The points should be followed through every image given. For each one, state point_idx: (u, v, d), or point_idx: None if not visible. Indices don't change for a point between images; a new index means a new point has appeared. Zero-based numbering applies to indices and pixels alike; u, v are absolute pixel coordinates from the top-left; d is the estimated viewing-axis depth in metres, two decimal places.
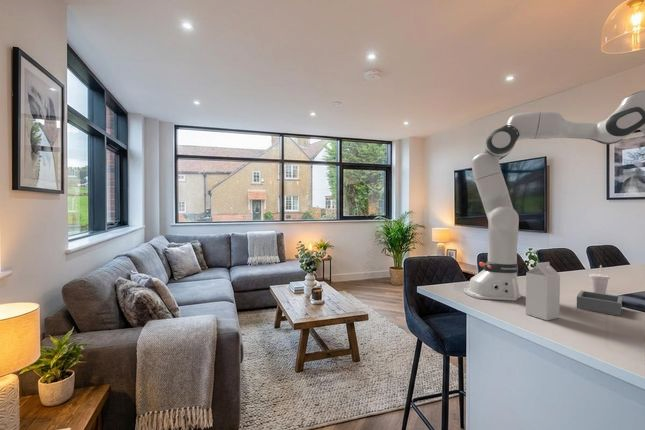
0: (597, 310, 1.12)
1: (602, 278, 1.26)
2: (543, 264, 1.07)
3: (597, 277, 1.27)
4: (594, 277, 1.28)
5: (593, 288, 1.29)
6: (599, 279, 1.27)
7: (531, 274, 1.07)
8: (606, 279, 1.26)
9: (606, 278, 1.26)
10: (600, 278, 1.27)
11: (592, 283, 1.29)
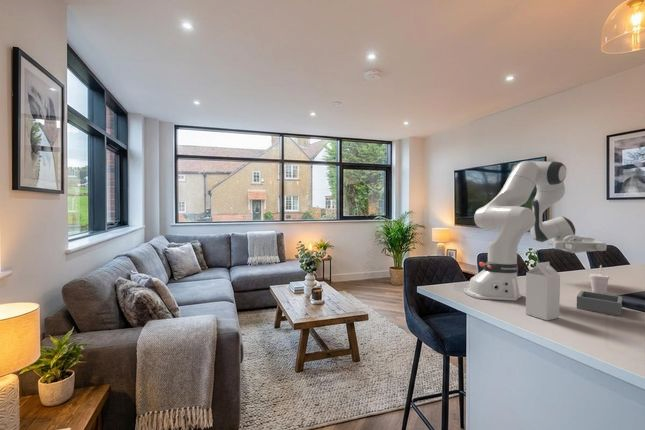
0: (597, 310, 1.12)
1: (602, 278, 1.26)
2: (543, 264, 1.07)
3: (597, 277, 1.27)
4: (594, 277, 1.28)
5: (593, 288, 1.29)
6: (599, 279, 1.27)
7: (531, 274, 1.07)
8: (606, 279, 1.26)
9: (606, 278, 1.26)
10: (600, 278, 1.27)
11: (592, 283, 1.29)
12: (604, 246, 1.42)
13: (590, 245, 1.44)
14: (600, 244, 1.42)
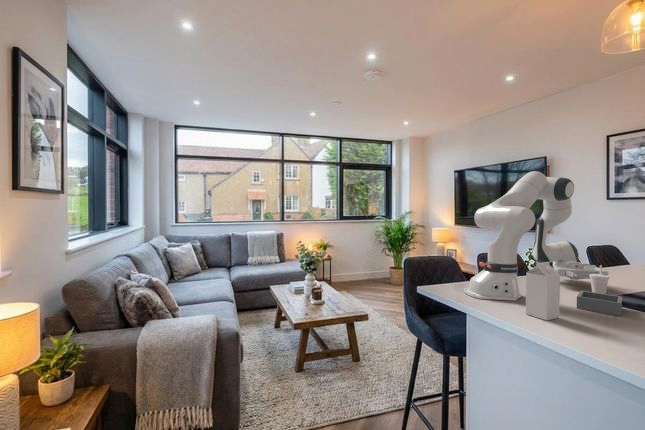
0: (597, 310, 1.12)
1: (602, 278, 1.26)
2: (543, 264, 1.07)
3: (597, 277, 1.27)
4: (594, 277, 1.28)
5: (593, 288, 1.29)
6: (599, 279, 1.27)
7: (531, 274, 1.07)
8: (606, 279, 1.26)
9: (606, 278, 1.26)
10: (600, 278, 1.27)
11: (592, 283, 1.29)
12: None
13: (592, 273, 1.42)
14: (602, 272, 1.40)
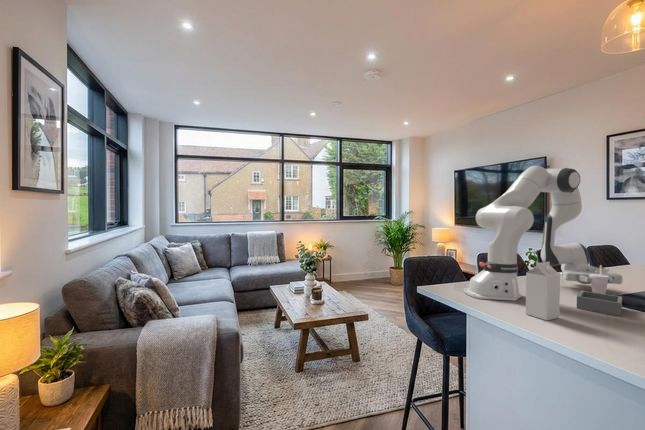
0: (597, 310, 1.12)
1: (602, 278, 1.26)
2: (543, 264, 1.07)
3: (597, 277, 1.27)
4: (594, 277, 1.28)
5: (593, 288, 1.29)
6: (599, 279, 1.27)
7: (531, 274, 1.07)
8: (606, 279, 1.26)
9: (606, 278, 1.26)
10: (600, 278, 1.27)
11: (592, 283, 1.29)
12: (620, 279, 1.30)
13: None
14: (616, 277, 1.30)
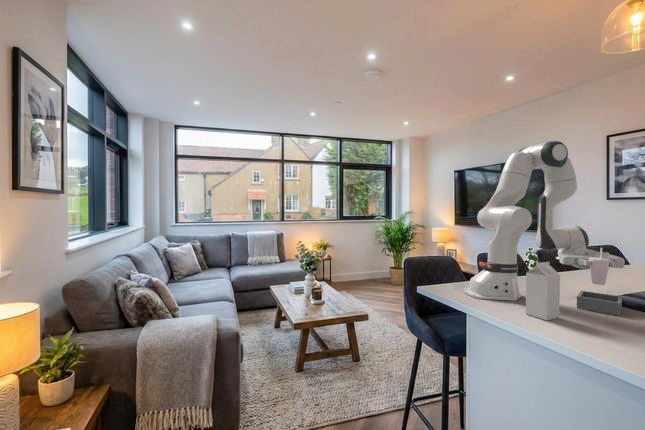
0: (597, 310, 1.12)
1: (603, 261, 1.15)
2: (543, 264, 1.07)
3: (597, 260, 1.16)
4: (594, 261, 1.17)
5: (593, 273, 1.18)
6: (599, 263, 1.16)
7: (531, 274, 1.07)
8: (607, 262, 1.15)
9: (607, 262, 1.15)
10: (601, 261, 1.16)
11: (592, 267, 1.18)
12: (621, 263, 1.19)
13: None
14: (617, 260, 1.19)
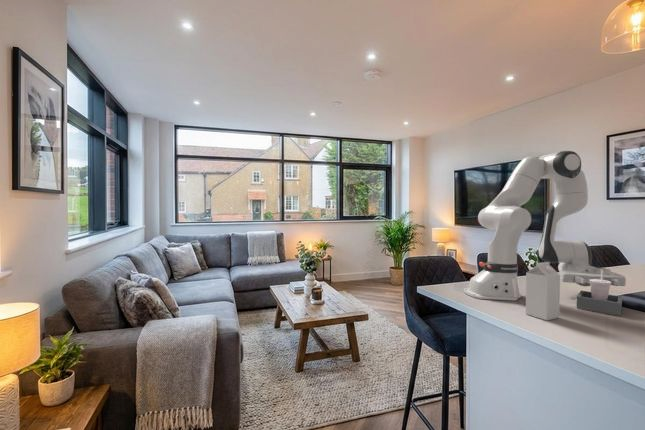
0: (597, 310, 1.12)
1: (603, 284, 1.13)
2: (543, 264, 1.07)
3: (598, 283, 1.14)
4: (594, 283, 1.15)
5: (593, 295, 1.16)
6: (600, 285, 1.14)
7: (531, 274, 1.07)
8: (608, 285, 1.13)
9: (607, 285, 1.13)
10: (601, 284, 1.13)
11: (592, 289, 1.16)
12: (623, 281, 1.17)
13: (606, 279, 1.19)
14: (618, 278, 1.17)
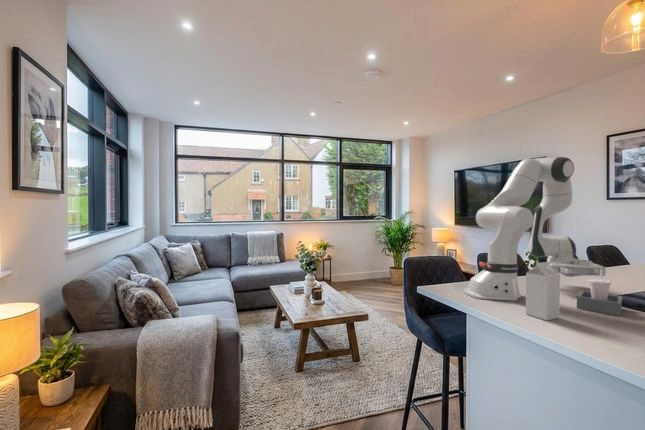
0: (597, 310, 1.12)
1: (603, 284, 1.13)
2: (543, 264, 1.07)
3: (597, 283, 1.14)
4: (594, 283, 1.15)
5: (593, 295, 1.16)
6: (600, 285, 1.14)
7: (531, 274, 1.07)
8: (607, 285, 1.13)
9: (607, 284, 1.13)
10: (601, 284, 1.13)
11: (592, 289, 1.16)
12: (603, 271, 1.30)
13: (588, 269, 1.32)
14: (599, 269, 1.30)
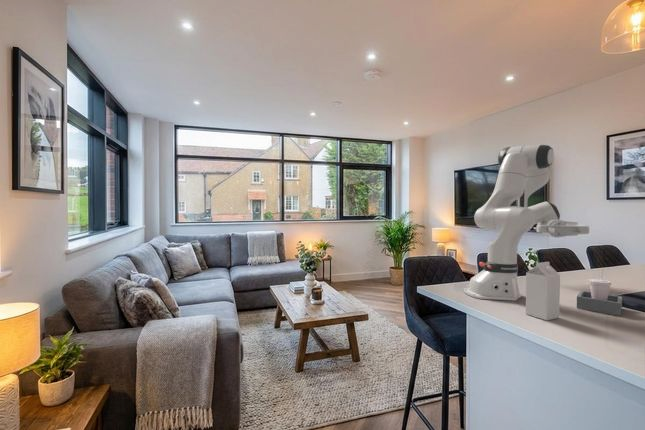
0: (597, 310, 1.12)
1: (603, 284, 1.13)
2: (543, 264, 1.07)
3: (598, 283, 1.14)
4: (594, 283, 1.15)
5: (593, 295, 1.16)
6: (600, 285, 1.14)
7: (531, 274, 1.07)
8: (608, 285, 1.13)
9: (607, 284, 1.13)
10: (601, 284, 1.13)
11: (592, 289, 1.16)
12: (586, 229, 1.41)
13: (573, 228, 1.43)
14: (583, 227, 1.42)
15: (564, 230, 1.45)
